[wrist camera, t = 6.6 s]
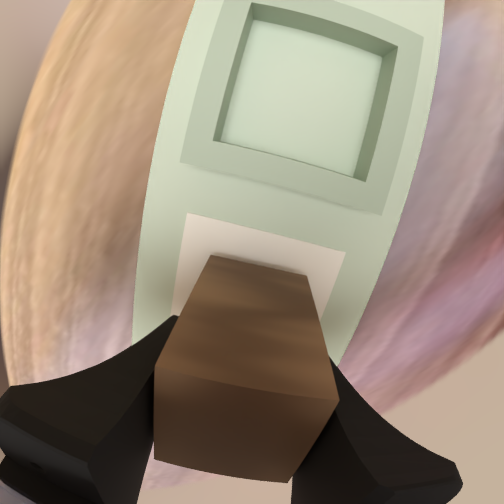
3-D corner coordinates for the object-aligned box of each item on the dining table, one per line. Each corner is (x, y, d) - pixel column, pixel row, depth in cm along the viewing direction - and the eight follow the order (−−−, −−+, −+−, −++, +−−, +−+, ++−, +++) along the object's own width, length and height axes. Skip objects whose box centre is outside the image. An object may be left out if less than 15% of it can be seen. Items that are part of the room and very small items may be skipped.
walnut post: (306, 275, 13) (339, 400, 6) (282, 352, 14) (287, 483, 7) (210, 254, 13) (155, 365, 6) (197, 334, 14) (154, 459, 7)
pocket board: (439, 2, 9) (461, -13, 7) (323, 383, 17) (329, 412, 14) (225, -61, 9) (218, -87, 7) (135, 339, 16) (119, 365, 14)
